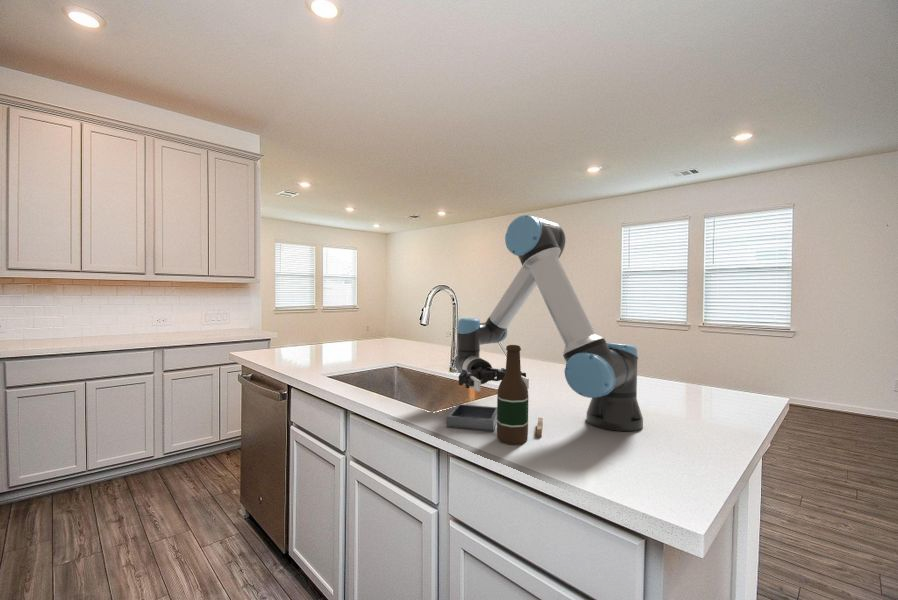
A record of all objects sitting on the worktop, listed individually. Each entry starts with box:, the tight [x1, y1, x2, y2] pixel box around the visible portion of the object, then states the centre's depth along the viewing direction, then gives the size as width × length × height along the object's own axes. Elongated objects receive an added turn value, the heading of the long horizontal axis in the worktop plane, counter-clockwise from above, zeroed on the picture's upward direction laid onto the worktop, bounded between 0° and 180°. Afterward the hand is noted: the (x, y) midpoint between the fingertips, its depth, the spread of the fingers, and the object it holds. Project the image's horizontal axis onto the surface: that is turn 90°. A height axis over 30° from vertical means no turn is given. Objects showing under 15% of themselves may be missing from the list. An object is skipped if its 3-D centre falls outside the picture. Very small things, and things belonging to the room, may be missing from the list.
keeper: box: [445, 403, 497, 433], centre depth 116 cm, size 13×13×3 cm
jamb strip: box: [536, 417, 544, 438], centre depth 109 cm, size 10×1×2 cm, turn 165°
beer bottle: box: [496, 344, 529, 446], centre depth 102 cm, size 8×8×24 cm
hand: (503, 385), depth 106 cm, fingers open, 13 cm apart
